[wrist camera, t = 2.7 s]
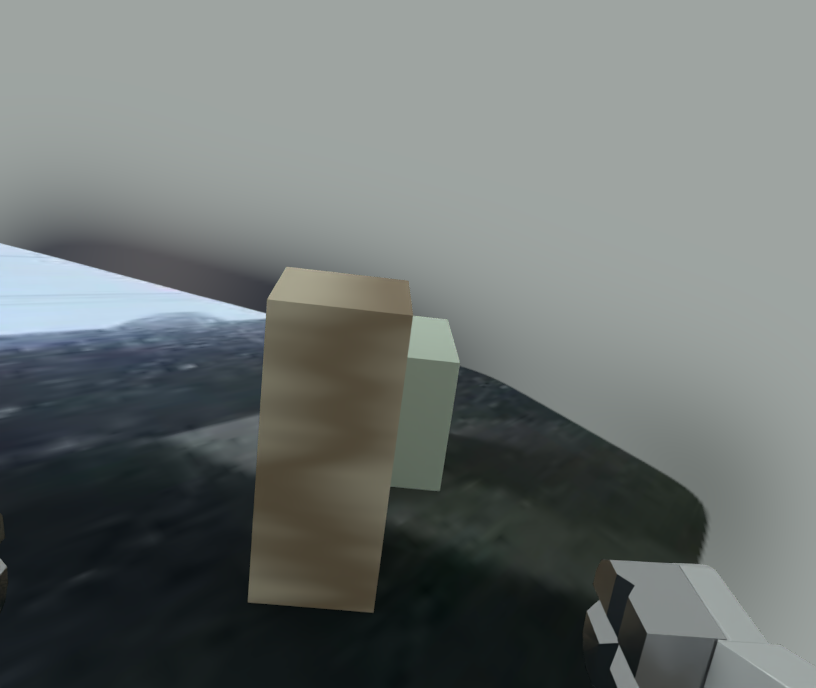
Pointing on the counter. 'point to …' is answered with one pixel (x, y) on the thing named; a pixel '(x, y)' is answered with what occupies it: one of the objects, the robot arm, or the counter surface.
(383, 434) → the maple pillar
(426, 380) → the sage block
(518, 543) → the counter surface
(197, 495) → the counter surface
